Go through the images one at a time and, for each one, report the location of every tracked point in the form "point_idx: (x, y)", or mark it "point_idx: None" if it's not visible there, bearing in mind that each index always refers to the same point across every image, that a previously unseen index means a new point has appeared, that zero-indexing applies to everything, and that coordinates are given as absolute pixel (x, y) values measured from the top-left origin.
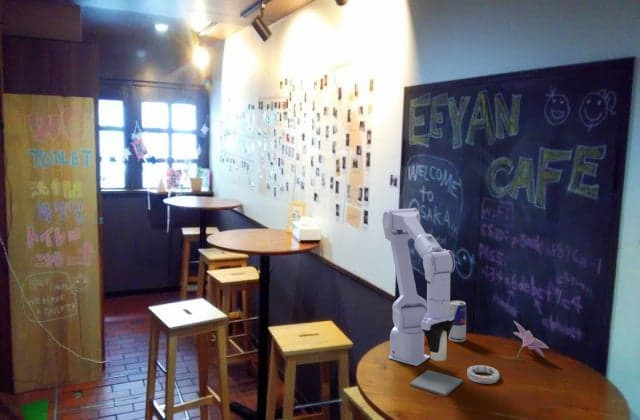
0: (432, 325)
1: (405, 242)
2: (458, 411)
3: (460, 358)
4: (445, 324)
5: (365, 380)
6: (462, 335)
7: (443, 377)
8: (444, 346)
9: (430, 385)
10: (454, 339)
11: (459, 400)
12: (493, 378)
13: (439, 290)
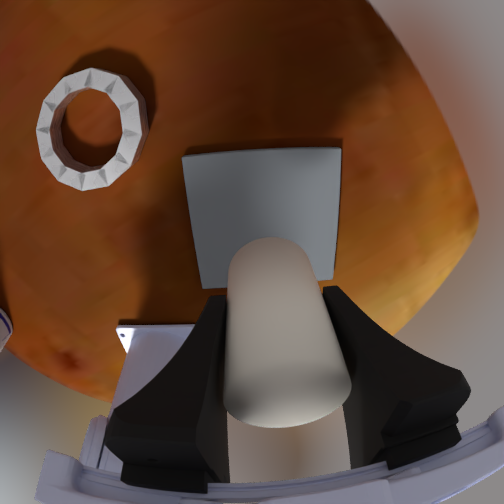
0: (452, 445)
1: None
2: (402, 72)
3: (48, 260)
4: (213, 436)
5: None
6: None
7: (218, 221)
8: (295, 287)
9: (310, 223)
10: (5, 320)
11: (333, 94)
12: (102, 71)
13: None
